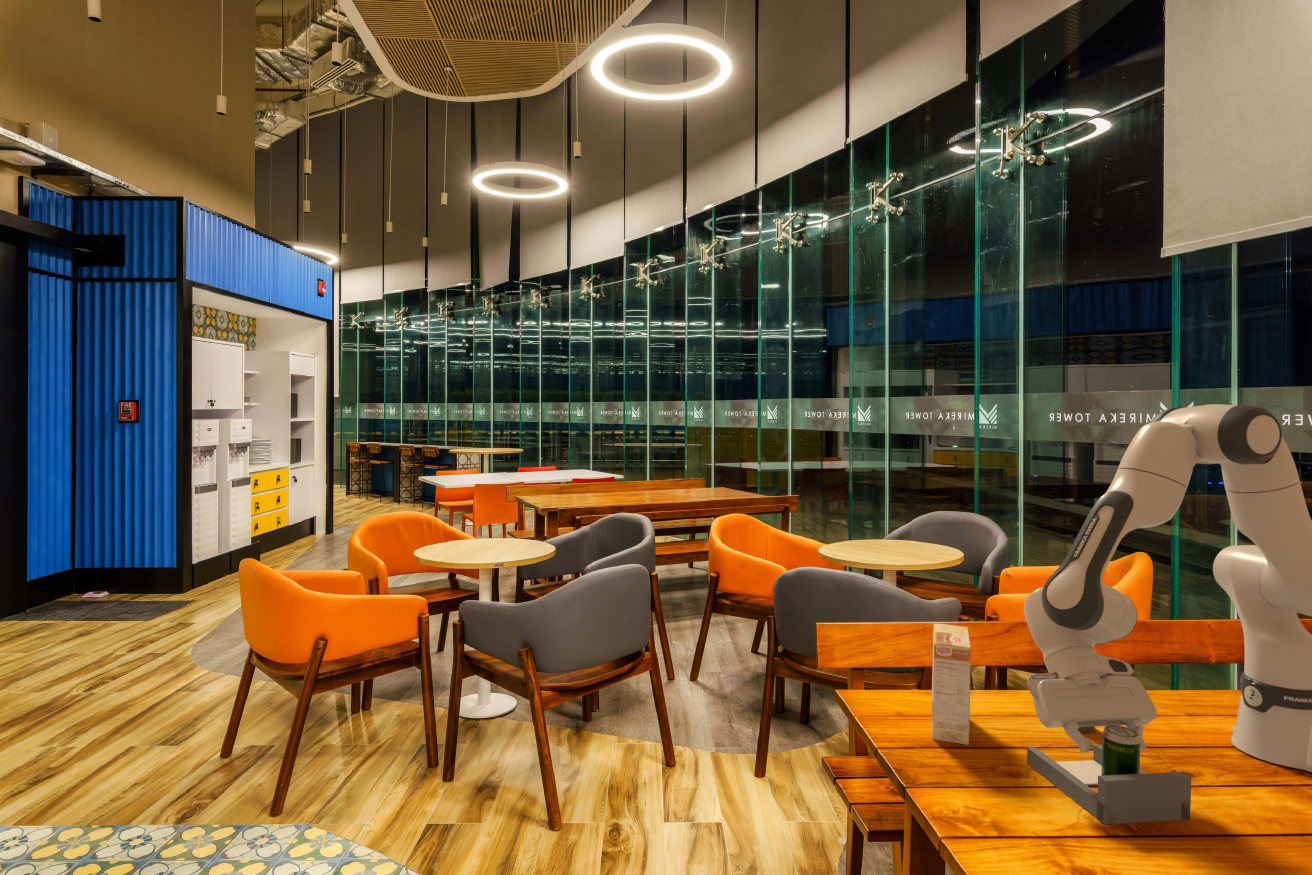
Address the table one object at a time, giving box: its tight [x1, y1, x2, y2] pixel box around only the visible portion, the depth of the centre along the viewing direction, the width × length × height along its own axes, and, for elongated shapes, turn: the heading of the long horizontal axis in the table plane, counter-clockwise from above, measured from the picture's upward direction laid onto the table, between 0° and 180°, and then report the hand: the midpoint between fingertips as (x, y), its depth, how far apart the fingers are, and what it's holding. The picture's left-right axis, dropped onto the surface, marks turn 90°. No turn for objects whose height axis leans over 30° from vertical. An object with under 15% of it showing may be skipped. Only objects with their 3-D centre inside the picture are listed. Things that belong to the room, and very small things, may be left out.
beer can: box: [1101, 725, 1141, 776], centre depth 121 cm, size 5×5×12 cm
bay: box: [1026, 743, 1192, 825], centre depth 125 cm, size 15×20×7 cm
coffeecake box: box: [931, 623, 972, 746], centre depth 149 cm, size 15×7×20 cm, turn 159°
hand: (1114, 750), depth 122 cm, fingers open, 8 cm apart
